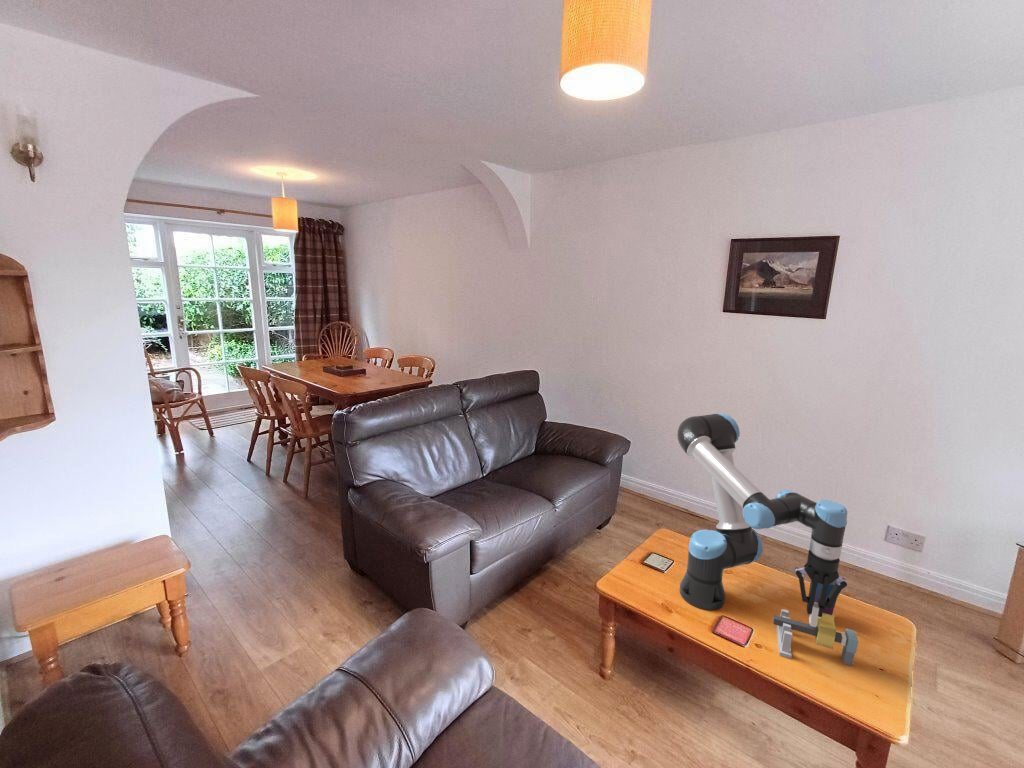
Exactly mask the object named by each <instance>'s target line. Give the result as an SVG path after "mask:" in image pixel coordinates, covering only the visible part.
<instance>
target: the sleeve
mask: <svg viewBox="0 0 1024 768" xmlns="http://www.w3.org/2000/svg"><path fill="white" fill-rule="evenodd" d="M816 626H817V627H818V635H817V636H814V637H815V642H816V645H818V646H822V647H826V648H829V649H832V650H833V649H834V645H835V642H834V640H835V635H836V632H837V628H836V623H835V615H833V614H832V615H829V614H825V613H823V614H822V617H818V618H817V624H816Z"/></svg>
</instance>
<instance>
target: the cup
mask: <svg viewBox="0 0 1024 768" xmlns="http://www.w3.org/2000/svg"><path fill="white" fill-rule="evenodd" d="M835 583H836V580H835V581H833V582H832V583H830V584H828V589H827V593H826V599H827V597H828V596H829V594H830V592H831V590H832V588H833V586H834V585H835ZM820 587H821V583H818V585H817V588H816V594H815V600H814V602H816V603H818V599H819V593H820ZM826 599H825V601H826ZM837 599H838V598H837ZM837 599H836V601H835V602H834V604H833V606H832V608H830V609H829V608H824V610H823V613H825V614H829V615H833V614H834V610H835V606H836V603H837Z"/></svg>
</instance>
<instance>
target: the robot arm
mask: <svg viewBox="0 0 1024 768" xmlns="http://www.w3.org/2000/svg"><path fill="white" fill-rule="evenodd" d="M740 434H741V432H740V427H739V425H738V423H737V421H736V420H735V419H734V418H733V417H731V415H729V414H726V413H712V414H703V415H698V416H697V415H694V416H690V417H688V418H686V419H684V420H683V421H682V422H681V423H680V424H679V426H678V429H677V435H676V436H677V440H678V444H679V445H680V447H681V449H682V450H683V452H685V454H686V455H687V456H688V457H689V458H692V459H695V460H696V461H697V462H698V464H700V466H702V468H704V470H706V471H707V472H708V473H709V475H710V478H711V483H712V489H713V494H714V495H713V496H714V499H715V505H716V510H717V511H716V512H717V516H718V521H719V522H718V523H717V524H716V526H715V529H716V530H713V529H710V530H709V529H700V530H697V531H695V532H693V534H691V536H690V538H689V542H688V543H689V544H688V552H687V553H688V554H687V563H686V564H687V565H686V572H685V573H684V575H683V578H682V579H681V581H680V583H679V594H680V596H681V598H682V599H683V600H684V601H685V602H686V603H688V604H690V605H692V606H693V607H696V608H698V609H703V610H709V611H714V610H718V609H720V608H723V607H724V605H725V603H726V591H725V588H724V583H723V575H724V570H727V569H731V568H735V567H738V566H743V565H750V564H752V563H754V562H756V561H758V560H759V559H760V558H761V556H762V554H763V546H764V545H763V540H762V538H761V536H760V535H758V534H759V533H758V532H757V531H756V530H763V529H764V530H765V529H770V528H772V527H777V526H781V525H787V524H790V523H794V522H795V523H796V522H798V523H800V524H802V525H804V526H805V527H808V528H810V529H811V535H810V541H809V547H808V548H809V550H808V553H807V559H806V563H805V564H804V565H803V566H802V567H800V568H799V566H798V567H794V570H795V575H796V577H797V578H798V582H799V589H800V590H799V591H800V595H801V600H802V602H803V603H806V613H807V615H809V617H808V622H809V623H808V624H810V626H813V627H816V624H817V618H818V617H822V614H823V610H824V608H829V609H830V608H832V606H833V604H834V602H835V601H836V602H837V600H836V599H838V598H839V596H840V593H841V591H842V590H844V589H845V588H846V587H847V586H848V583H847V579H846V578H844V577H841V576H840V574H839V566H840V558H841V555H842V547H843V542H844V536H845V530H846V527H847V524H848V520H847V519H848V509H847V508H846V506H844V505H843V504H841V503H839V502H837V501H832V500H827V499H821V500H818V501H817V502H815V501H814V500H812V499H809V498H808V497H806V496H804V495H801V494H800V493H798V492H794V491H792V490H789V489H782V490H780V492H778V493H777V494H776V495H775V497H774V498H771V499H769V497H767V495H766V494H765V493H763V491H761V490H760V489H759V488H758V487H757V486H756V485H755V484H754V483H753V482H752V481H751V480H749V478H748V477H746V476H745V474H743V472H741V471H740V470H739V468H738V467H736V466H735V462H734V456H733V452H735V450H736V449H737V448H736V443H737V442H738V440H739V437H740ZM806 574H807V576H808V578H809V579H810V584H809V589H808V595H807V591H806V585H805V579H804V577H805V576H806ZM835 580H836V583H835V585H834V586H833V588H832V590H831V592H830V594H829V596H828V597H827V599H826V593H827V589H828V584H830V583H832V582H833V581H835ZM818 583H821V587H820V593H819V599H818V603H816V602H814V600H815V594H816V588H817V585H818ZM825 599H826V601H825Z"/></svg>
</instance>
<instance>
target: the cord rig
mask: <svg viewBox="0 0 1024 768" xmlns="http://www.w3.org/2000/svg"><path fill="white" fill-rule="evenodd" d="M789 614H790V611H789V610H787V609H783V608H780V614H779V615H777V614H773V617H772V623H773V625H774V626H776V627H775V628H776V636H777V637H776V638H777V644H778V655H779V656H781V657H783V658H787V659H790V660H791V659H792V649H791V645H792V639H793V632H791V631H792V630H793V631H795V632H799V633H802V634H807V635H810V636H814V637H815V636H817V635H818V627H817V626H816V627H813V626H810V623H806V622H803V621H798V620H796V619H792V618H791V617H789ZM835 642H836V643H838V644H840V645H841V646H842V651H841V660H842V663H843V664H845V665H847V666H853V665H854V661H855V656H856V654H857V651H858V647H859V646H858V645H859V639H858V636H857V632H856V630H853V629H851V628H845V631H840V632H839V631H836V635H835V640H834V643H835Z"/></svg>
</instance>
